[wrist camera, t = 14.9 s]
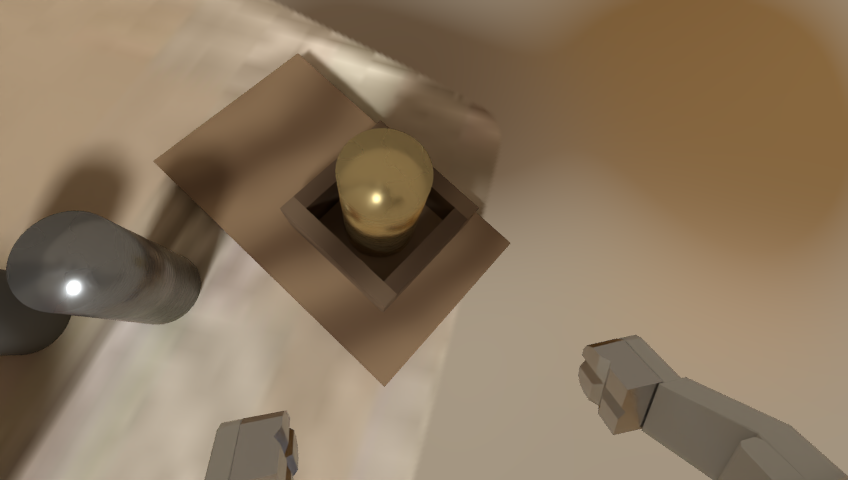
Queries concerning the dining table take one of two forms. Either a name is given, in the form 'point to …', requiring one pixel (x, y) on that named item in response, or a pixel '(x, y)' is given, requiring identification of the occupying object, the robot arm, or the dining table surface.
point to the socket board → (328, 217)
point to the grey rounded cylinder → (25, 324)
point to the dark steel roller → (99, 271)
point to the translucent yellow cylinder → (382, 189)
